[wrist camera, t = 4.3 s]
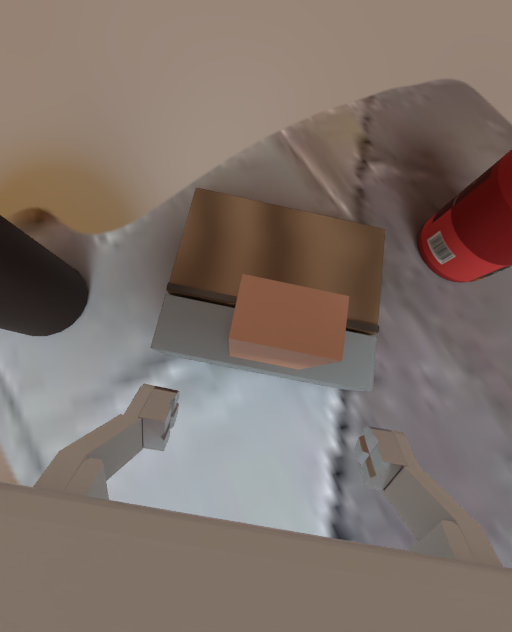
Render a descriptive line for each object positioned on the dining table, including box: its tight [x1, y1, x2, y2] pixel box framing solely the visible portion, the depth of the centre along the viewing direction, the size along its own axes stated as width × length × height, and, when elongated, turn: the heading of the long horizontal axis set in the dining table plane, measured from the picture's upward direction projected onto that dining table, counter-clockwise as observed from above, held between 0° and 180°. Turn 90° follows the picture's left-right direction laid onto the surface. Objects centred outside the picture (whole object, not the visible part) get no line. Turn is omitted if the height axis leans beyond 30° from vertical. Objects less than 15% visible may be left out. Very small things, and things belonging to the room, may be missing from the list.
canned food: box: [418, 150, 512, 282], centre depth 24 cm, size 8×8×11 cm
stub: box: [151, 274, 377, 391], centre depth 18 cm, size 16×4×13 cm, turn 79°
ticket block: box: [167, 188, 385, 336], centre depth 24 cm, size 16×9×5 cm, turn 79°
